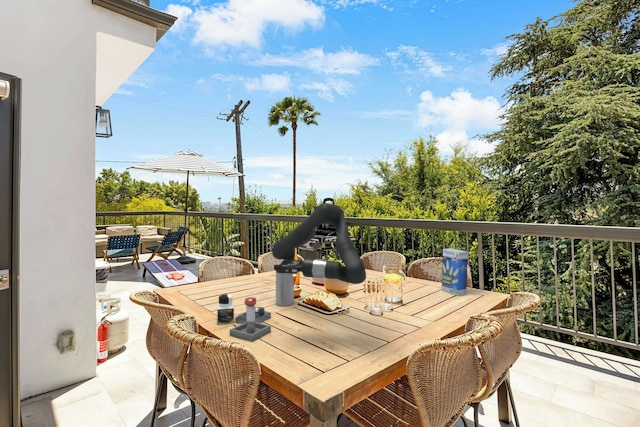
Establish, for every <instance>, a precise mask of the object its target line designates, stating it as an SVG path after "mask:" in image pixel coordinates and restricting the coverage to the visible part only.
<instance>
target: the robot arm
mask: <svg viewBox="0 0 640 427" xmlns="http://www.w3.org/2000/svg"><path fill="white" fill-rule="evenodd" d="M320 225H330V226H333V227H334V229H335V230H336V238H335V247H336V248H335V249H336V250H337V254H338V255H339V258H340V260H341V262H343V264H342V263H341V262H340V261H338V260H337V261H336V260H325V259H321V258H310V257H309V258H307V257H306V258H304V260H301V259H300V260H299V259H296V248H300V247H303V246H304V245H306V244H308V243H309V242H310V241H312V240H313V239H314V237H315V236H316V228H317V227H318V226H320ZM271 254H272V257H273V258H275V259H276V260H282V261H281V263H279V264H274V265H273V270H274V271H275V304H276V305H277V306H280V307H286V306H287V307H288V306H292V305H293V304H294V303H295V284H294V275H297V274H299V273H300V272H301V274H302V276H303V277H304V278H310V279H311V278H314V279H328V280H329V279H330V280H338V281H340V282H344V283H348V284H353V285H360V284H362V283H364V282H365V281H366V278H367V273H366V267H365V264H364V262H363V260H362V259H361V257H360V255H359V254H358V252H357V249H356V247H355V245H354V243H353V241H352V239H351V236H350V234H349V229H348V225H347V222H346V219H345V214H344V212H343V210H342V208H341V206H339V205H338V204H333V203H326V202H324V203H320V204H319V205H318V206H317V207H316V208H315V209H314V210H313V211H312V212H311V213H310V214H309V216H308V217H306V219H304V220H303V221H302V222H301V223H300V224H298V225H297V226H296V227H295V228H294V229H293V230H292V231H290V232H289V233H288V234H287V235H286V236H284V237H283V238H282V239H280V240H278V241H276V242H275V243H274V244H273V246H272V249H271Z"/></svg>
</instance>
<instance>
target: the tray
mask: <svg viewBox="0 0 640 427" xmlns="http://www.w3.org/2000/svg"><path fill="white" fill-rule="evenodd" d="M271 332H272V326H271V325H269V324H265V323H262V322H261V323H257V322H255V333H253V334H249V333H246V322H245V323H243V324H239V325H237V326H234V327H232V328H230V329H229V336H230V337H233V338H237V339H241V340H244V341H249V342H251V343H252V342H254V341H257V340H258V339H260V338H262V337H264V336H266V335H267V334H269V333H271Z"/></svg>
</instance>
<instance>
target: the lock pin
mask: <svg viewBox="0 0 640 427" xmlns="http://www.w3.org/2000/svg"><path fill="white" fill-rule="evenodd" d="M244 305H245V310H246V333H249V334H253V333H255V307H256V305H257V297H255V296H254V297H246V298H245V299H244Z"/></svg>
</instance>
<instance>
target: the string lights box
mask: <svg viewBox="0 0 640 427" xmlns="http://www.w3.org/2000/svg"><path fill="white" fill-rule="evenodd" d="M468 260H469V251H465V250H461V249H455V248H451V247H450V248H449V247H448V248H442V264H441V266H442V270H441V291H442V292H445V293H449V294H451V295H454V296H457V297H459V296H465V295H467V290H468V289H467V286H468V284H467V282H468Z"/></svg>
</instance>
